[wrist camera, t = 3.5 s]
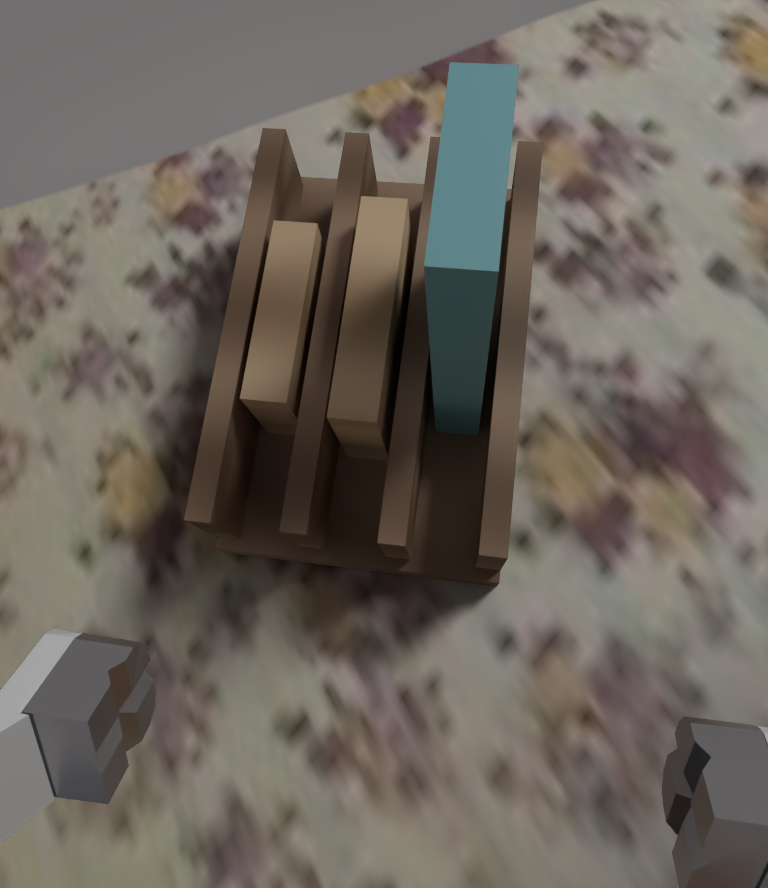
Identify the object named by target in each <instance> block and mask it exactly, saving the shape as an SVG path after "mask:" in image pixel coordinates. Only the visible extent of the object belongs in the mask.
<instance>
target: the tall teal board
mask: <svg viewBox="0 0 768 888" xmlns="http://www.w3.org/2000/svg"><path fill="white" fill-rule="evenodd" d="M518 69H519V65H504V64H478V63H453V62H450V66H449V74H448V82H447V89H446V97H445V105H444V113H443V121H442V129H441V137H440V144H439V152H438V160H437V168H436V176H435V184H434V191H433V199H432V207H431V215H430V223H429V231H428V238H427V246H426V254H425V262H424V274H425V288H426V302H427V317H428V331H429V345H430V359H431V373H432V388H433V402H434V416H435V430H436V432H445V433H455V434H465V435H475V436H478V432H479V424H480V416H481V409H482V401H483V393H484V385H485V377H486V369H487V361H488V353H489V345H490V337H491V329H492V321H493V313H494V305H495V297H496V289H497V281H498V273H499V263H500V253H501V243H502V232H503V222H504V212H505V202H506V192H507V181H508V171H509V161H510V151H511V141H512V130H513V120H514V110H515V100H516V90H517V79H518Z"/></svg>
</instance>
